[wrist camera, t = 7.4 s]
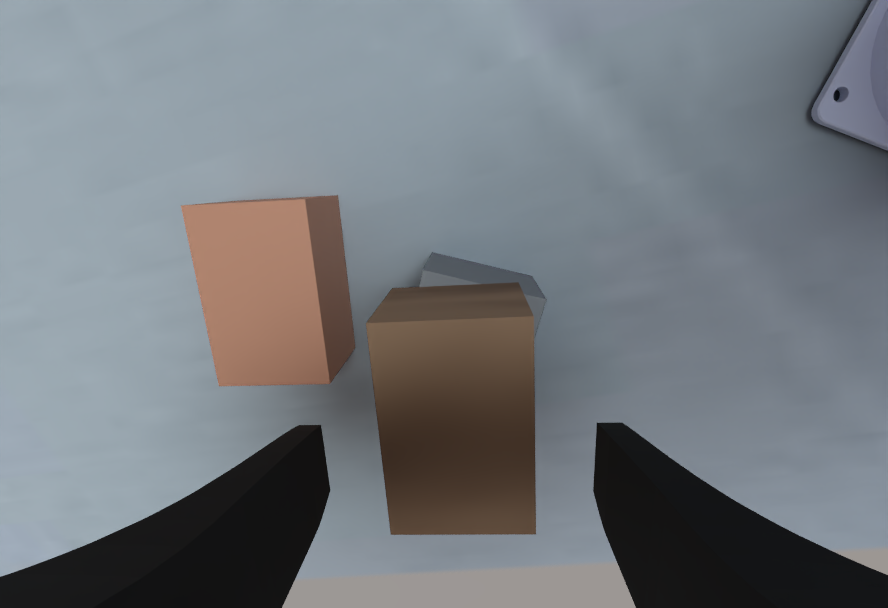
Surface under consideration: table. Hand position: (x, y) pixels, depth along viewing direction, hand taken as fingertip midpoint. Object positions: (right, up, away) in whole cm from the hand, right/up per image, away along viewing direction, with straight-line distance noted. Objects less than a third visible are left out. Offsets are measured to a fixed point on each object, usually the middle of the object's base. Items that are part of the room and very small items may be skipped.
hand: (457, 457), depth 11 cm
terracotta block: (-7, +5, +9) cm, 12 cm away
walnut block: (0, +1, +5) cm, 5 cm away
